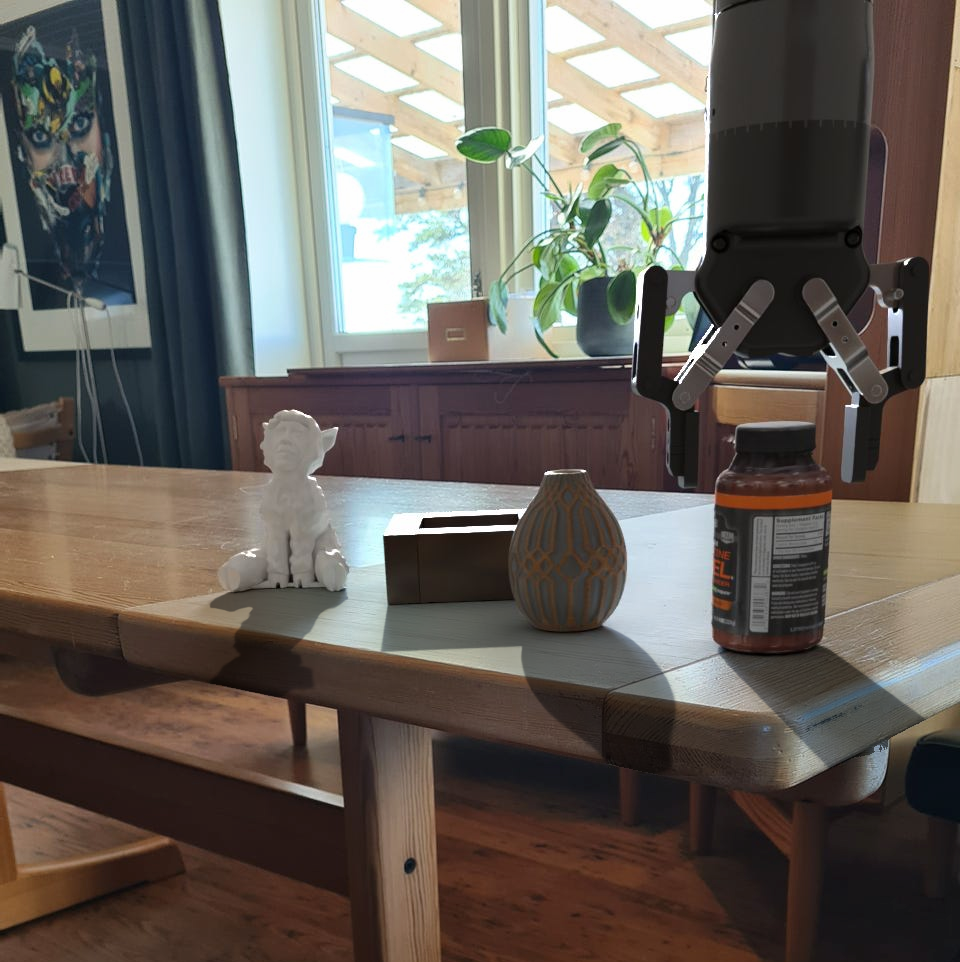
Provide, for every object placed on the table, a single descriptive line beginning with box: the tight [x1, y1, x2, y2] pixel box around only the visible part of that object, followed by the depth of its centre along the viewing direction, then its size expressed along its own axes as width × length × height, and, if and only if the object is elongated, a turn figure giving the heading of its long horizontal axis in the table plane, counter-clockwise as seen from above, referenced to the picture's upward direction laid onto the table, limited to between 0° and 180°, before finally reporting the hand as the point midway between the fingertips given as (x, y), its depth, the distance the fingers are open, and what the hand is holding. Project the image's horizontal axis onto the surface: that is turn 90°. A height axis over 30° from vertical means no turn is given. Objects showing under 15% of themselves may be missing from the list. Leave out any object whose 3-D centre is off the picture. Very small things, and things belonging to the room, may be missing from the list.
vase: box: [508, 469, 628, 633], centre depth 74 cm, size 7×7×9 cm
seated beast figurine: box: [216, 409, 351, 593], centre depth 92 cm, size 10×9×12 cm
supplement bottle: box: [710, 420, 833, 655], centre depth 67 cm, size 6×6×11 cm
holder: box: [382, 508, 526, 605], centre depth 89 cm, size 11×11×4 cm
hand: (770, 484), depth 66 cm, fingers open, 8 cm apart
